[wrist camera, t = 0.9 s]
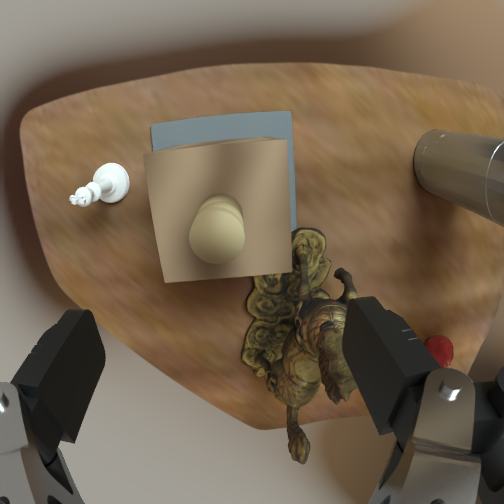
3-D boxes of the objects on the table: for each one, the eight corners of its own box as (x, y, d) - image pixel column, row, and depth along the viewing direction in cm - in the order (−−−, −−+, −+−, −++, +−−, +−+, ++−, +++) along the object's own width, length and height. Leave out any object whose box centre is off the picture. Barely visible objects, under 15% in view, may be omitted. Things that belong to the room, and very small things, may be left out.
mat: (290, 111, 32) (290, 110, 32) (296, 241, 38) (296, 242, 38) (151, 124, 32) (150, 124, 31) (169, 252, 38) (168, 253, 38)
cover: (267, 136, 33) (302, 142, 16) (272, 222, 37) (305, 305, 20) (177, 145, 33) (118, 162, 15) (187, 229, 37) (150, 317, 19)
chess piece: (124, 206, 35) (91, 233, 26) (90, 196, 34) (50, 218, 25) (133, 168, 34) (100, 183, 24) (99, 158, 33) (57, 170, 24)
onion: (445, 325, 46) (468, 351, 39) (434, 350, 48) (454, 377, 41) (422, 327, 46) (444, 355, 38) (411, 353, 48) (430, 382, 40)
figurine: (358, 240, 39) (447, 334, 20) (293, 377, 48) (320, 483, 29) (266, 214, 36) (309, 314, 18) (216, 366, 45) (218, 483, 27)
